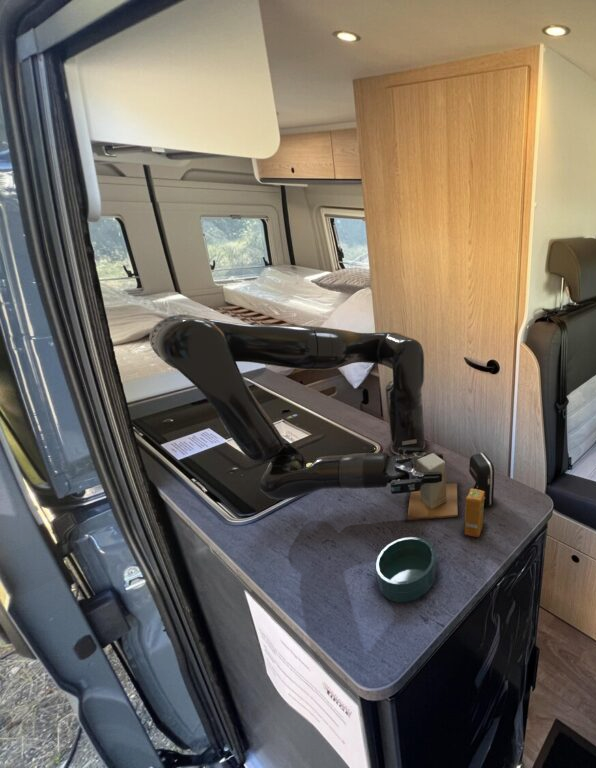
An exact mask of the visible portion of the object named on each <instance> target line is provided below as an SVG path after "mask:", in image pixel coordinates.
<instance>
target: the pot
mask: <svg viewBox="0 0 596 768" xmlns="http://www.w3.org/2000/svg"><path fill="white" fill-rule="evenodd" d="M375 572H376V578H377V579H376V580H377V585H378V589H379V592H380V593H381V594H382V596H383V597H384V598H386V599H387V600H389V601H392V602H395V603H407V602H412V601H415V600H417V599H419V598H421V597H423V596H424V595H425V594H426V593H427V592H428V591H430V589H431V588H432V586H433V585H434V583H435V580H436V577H437V562H436V552H435V549H434V546H433V545H432V544H431V543H430V542H429V541H427V540H425V539H423V538H420V537H416V536H409V537H408V536H407V537H401V538H397V539H395V540H393V541H391V542H390V543H388V544H387V545H385V547H383V549H382V550H381V551H380V552H379V554H378V555H377V557H376V561H375Z"/></svg>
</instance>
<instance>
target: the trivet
mask: <svg viewBox="0 0 596 768" xmlns="http://www.w3.org/2000/svg"><path fill="white" fill-rule="evenodd" d="M446 498H447V501H446V502H444V503H442V504H440V505H439V506H437V507H435V508H433V509H431V508H430V507H429V506H428V505H427V504H425V503H424V502H423V501H422V500H421V499H420V491H415V492H410V495H409V503H408V510H407V517H406V520H407V521H415V520H429V519H445V518H457V517H459V514H458V513H459V511H458V483H457V482H454V483H453V482H451V483H446Z"/></svg>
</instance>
